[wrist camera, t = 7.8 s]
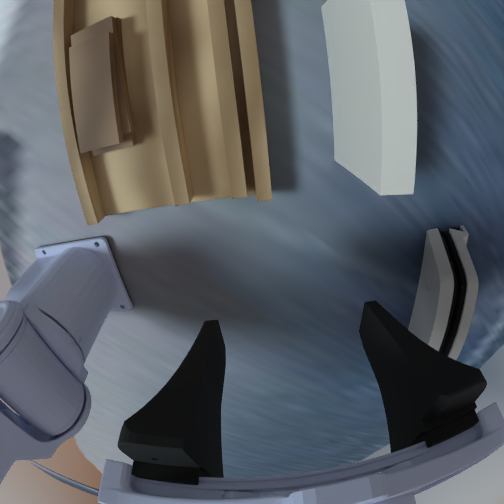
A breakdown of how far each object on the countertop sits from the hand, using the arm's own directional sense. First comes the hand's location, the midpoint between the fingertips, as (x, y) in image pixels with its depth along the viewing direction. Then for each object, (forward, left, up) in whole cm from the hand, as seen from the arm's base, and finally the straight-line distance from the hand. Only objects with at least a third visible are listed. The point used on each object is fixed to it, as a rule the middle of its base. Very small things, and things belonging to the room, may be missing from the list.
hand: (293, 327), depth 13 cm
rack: (-7, +14, -10) cm, 18 cm away
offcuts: (-11, +14, -10) cm, 20 cm away
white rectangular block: (+6, +11, -11) cm, 17 cm away
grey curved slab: (+16, -9, -11) cm, 21 cm away
